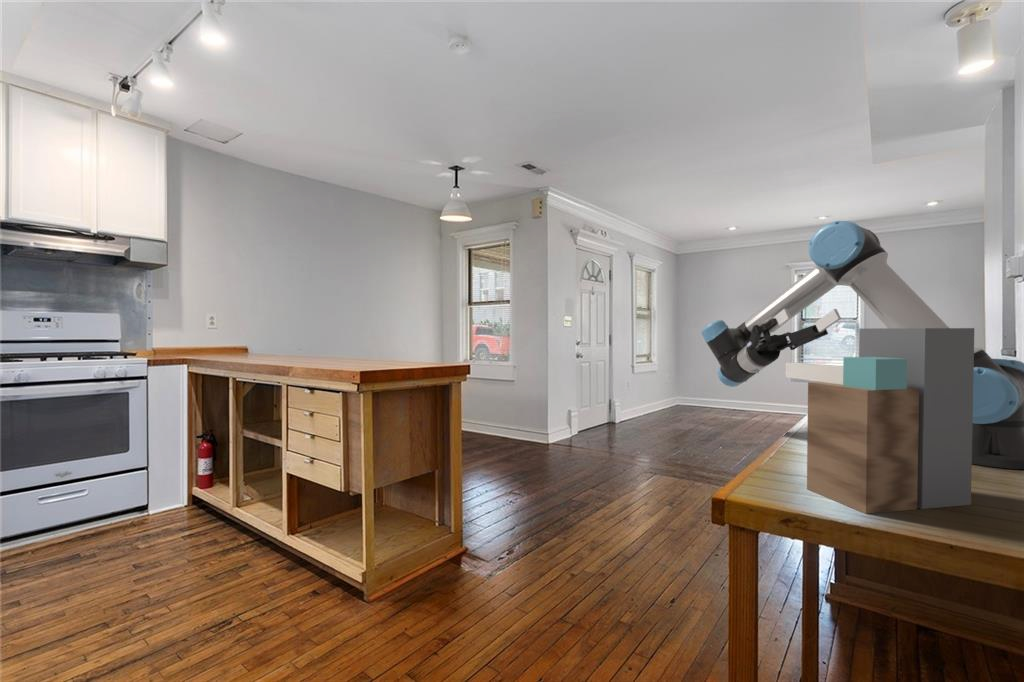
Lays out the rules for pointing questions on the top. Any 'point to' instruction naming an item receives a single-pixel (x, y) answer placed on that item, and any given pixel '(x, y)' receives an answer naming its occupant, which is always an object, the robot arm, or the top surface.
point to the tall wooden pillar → (863, 446)
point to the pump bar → (855, 373)
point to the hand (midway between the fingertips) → (813, 313)
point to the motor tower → (936, 404)
